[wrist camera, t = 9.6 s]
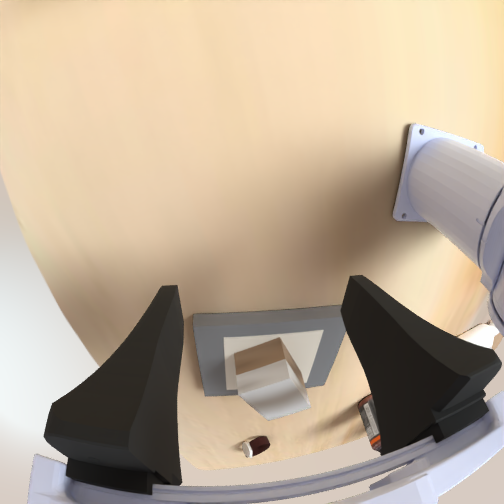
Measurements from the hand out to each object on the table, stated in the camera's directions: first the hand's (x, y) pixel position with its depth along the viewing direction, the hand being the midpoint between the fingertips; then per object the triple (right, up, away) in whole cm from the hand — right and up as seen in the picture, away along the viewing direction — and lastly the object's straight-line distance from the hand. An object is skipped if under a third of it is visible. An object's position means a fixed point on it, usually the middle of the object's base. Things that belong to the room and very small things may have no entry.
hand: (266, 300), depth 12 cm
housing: (+1, -9, +15) cm, 18 cm away
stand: (+1, -8, +16) cm, 18 cm away
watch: (0, -32, +32) cm, 45 cm away
